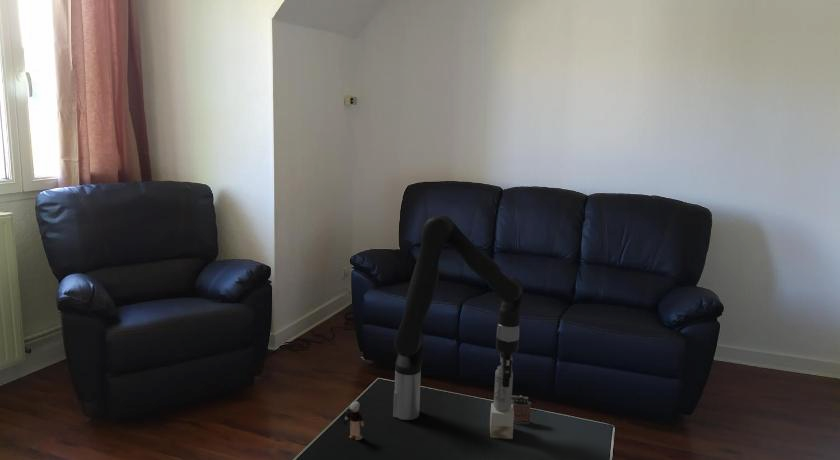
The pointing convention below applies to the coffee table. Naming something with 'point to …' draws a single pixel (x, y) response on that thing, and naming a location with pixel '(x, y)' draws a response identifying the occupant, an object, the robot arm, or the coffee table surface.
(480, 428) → the coffee table surface
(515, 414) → the lighter
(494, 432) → the birch block
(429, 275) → the robot arm
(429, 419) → the coffee table surface
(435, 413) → the coffee table surface
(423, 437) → the coffee table surface
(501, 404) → the energy drink can
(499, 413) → the cream block
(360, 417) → the grandmother figurine
